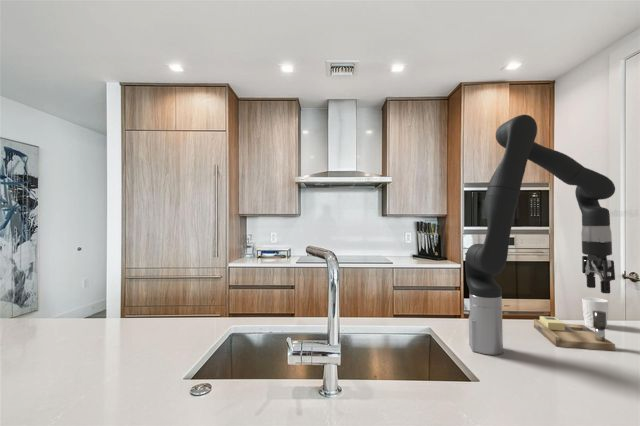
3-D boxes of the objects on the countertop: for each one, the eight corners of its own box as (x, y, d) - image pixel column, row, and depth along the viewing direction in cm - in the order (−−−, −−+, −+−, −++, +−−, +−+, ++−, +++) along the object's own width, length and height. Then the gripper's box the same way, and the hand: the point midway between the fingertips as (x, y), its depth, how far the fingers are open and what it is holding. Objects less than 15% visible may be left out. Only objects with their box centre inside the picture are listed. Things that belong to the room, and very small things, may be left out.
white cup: (577, 323, 131) (576, 298, 131) (591, 321, 133) (591, 296, 134) (599, 330, 123) (598, 302, 124) (614, 327, 126) (613, 301, 126)
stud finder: (548, 329, 118) (548, 322, 118) (539, 322, 126) (539, 315, 126) (564, 330, 117) (564, 323, 117) (555, 323, 124) (555, 316, 124)
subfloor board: (555, 346, 108) (555, 336, 108) (533, 327, 128) (533, 319, 128) (615, 350, 104) (614, 341, 104) (583, 330, 123) (582, 322, 124)
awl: (596, 341, 107) (596, 313, 107) (591, 338, 110) (590, 310, 110) (608, 342, 106) (608, 313, 106) (603, 338, 109) (602, 311, 109)
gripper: (572, 238, 117) (574, 285, 116) (594, 241, 103) (596, 294, 102) (598, 238, 115) (599, 286, 114) (623, 241, 101) (625, 295, 100)
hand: (598, 290), depth 108 cm, fingers open, 8 cm apart
